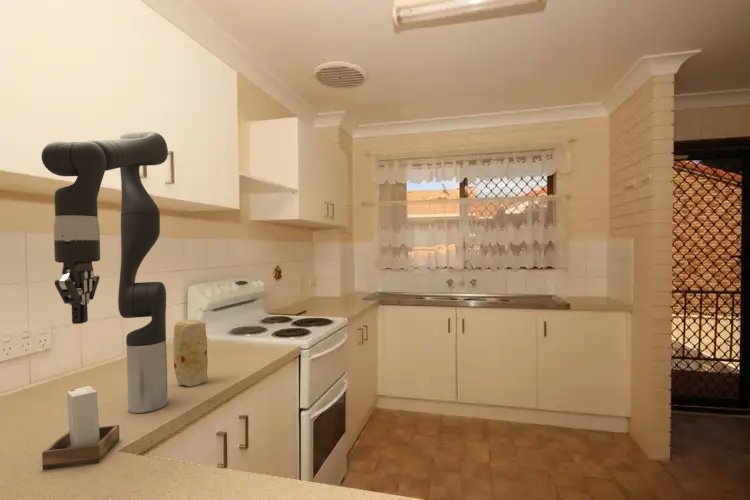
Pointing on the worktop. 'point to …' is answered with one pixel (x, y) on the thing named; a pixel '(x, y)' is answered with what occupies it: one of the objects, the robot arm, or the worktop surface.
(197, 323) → the food model
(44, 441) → the worktop surface
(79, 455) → the brown square tray
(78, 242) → the robot arm
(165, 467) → the worktop surface
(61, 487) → the worktop surface
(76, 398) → the skincare box
